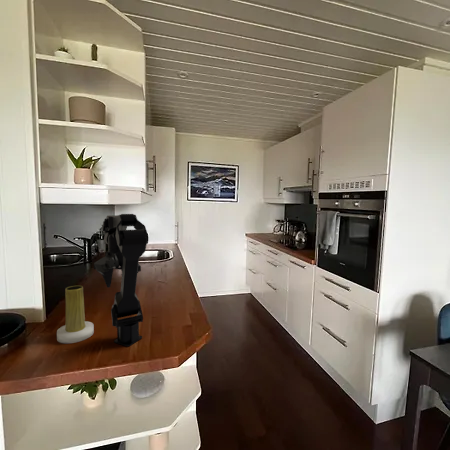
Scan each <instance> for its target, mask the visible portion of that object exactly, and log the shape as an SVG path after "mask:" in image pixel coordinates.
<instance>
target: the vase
mask: <svg viewBox="0 0 450 450" xmlns="http://www.w3.org/2000/svg"><path fill="white" fill-rule="evenodd" d="M64 291H65V292H64V293H65V295H64V296H65V325H66V327H65V330H66V331H67V332H77V331H80V330H82V329H84V328H85V327H86V325H85V321H86V317H85V316H86V315H85V299H84V286H83V285H70V286H67V287H65V290H64Z"/></svg>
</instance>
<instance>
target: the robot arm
mask: <svg viewBox="0 0 450 450" xmlns="http://www.w3.org/2000/svg"><path fill="white" fill-rule="evenodd" d="M127 227H133V229H127ZM101 229H102V232H103V233H104V237H103V239H104V243H106V244H107V246H108V247H107V248H108V251H105V255H104V256H103V257H101V258H100V259H98V260H97V261H95V262H94V263H93V270H95V271H96V272H98V273H99V274H101V276H102V278H103V281H104V283H105V285H106V287H107V288H110V287H111V285H112V280H113V274H114V270H120V271H121V281H120V282H121V284H120V291H118V292H115V294H114V301H113V304H112V306H111V309H110V313H111V315H110V316H111V321H112V323H111V325H112V327H115V328H116V337H117V338H116V339H114V341H113V343H114V344H118V345H122V346H124V347H125V346H126V347H130V346H132V345H133V344H135V343H137V342H138V341H140V340H142V339H143V336H142V335H140V332H139V331H140V328H139V327H140V323H142V322H144V314H143V311H142V306H141V302H140V299H139V298H138V295H137V293H136V291H137V290H136V289H137V281H138V280H137V279H138V274H139V272H141V271H142V269H141V268H142V267H141V266H142V265H141V264H140V263H139V261H140V258H141V257H142V256H143V255H144V254H145V253H146V249H147V245H148V244H149V234H148V231H147V229H146V226H145V224H144V223H142V222H141V221H140V220H138V218H137V215H136V214H134V213H121V214H117V215H109V214H108V215H107V216H106V218H104V220H103V222H102V228H101Z"/></svg>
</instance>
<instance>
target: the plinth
mask: <svg viewBox="0 0 450 450" xmlns="http://www.w3.org/2000/svg"><path fill="white" fill-rule="evenodd" d="M85 325H86V327H85V328H84V329H82V330H80V331H77V332H67V331H66V330H65V327H66V324H65V325H62V326H60V328H58V329H57V330H56V340H57V342H58V343H59V344H74V343H79V342H82V341H85V340H87V339H89V338H91V336H93V335H94V332H95V330H94V329H95V328H94V327H95V326H94V323H93V322H91V321H86V320H85Z"/></svg>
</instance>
